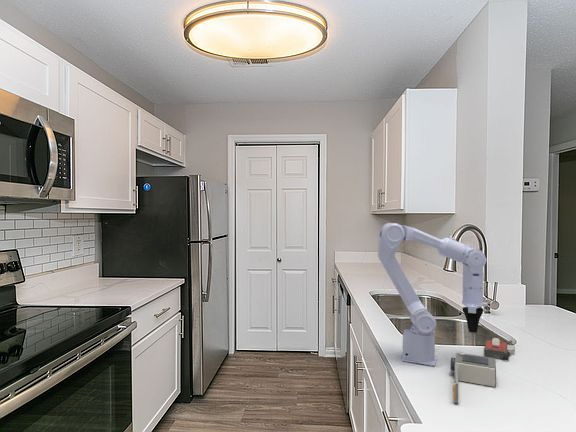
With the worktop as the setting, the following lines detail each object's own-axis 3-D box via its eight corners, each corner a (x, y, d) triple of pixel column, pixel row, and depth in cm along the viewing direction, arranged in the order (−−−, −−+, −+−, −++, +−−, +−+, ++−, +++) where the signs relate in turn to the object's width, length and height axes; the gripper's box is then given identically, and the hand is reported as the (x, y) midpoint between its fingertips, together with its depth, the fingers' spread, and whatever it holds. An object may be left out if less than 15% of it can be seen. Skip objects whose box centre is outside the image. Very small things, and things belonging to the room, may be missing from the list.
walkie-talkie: (515, 364, 119) (514, 345, 136) (515, 350, 119) (514, 333, 136) (483, 359, 123) (486, 341, 141) (483, 345, 123) (486, 329, 141)
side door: (453, 379, 106) (453, 362, 106) (457, 380, 106) (457, 363, 106) (453, 402, 93) (453, 383, 93) (458, 403, 92) (458, 384, 92)
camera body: (449, 379, 107) (449, 359, 107) (452, 369, 114) (452, 350, 114) (496, 387, 102) (496, 366, 102) (495, 376, 109) (495, 356, 109)
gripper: (487, 292, 111) (487, 340, 111) (487, 284, 124) (487, 327, 124) (460, 290, 114) (460, 336, 114) (463, 283, 127) (463, 324, 127)
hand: (472, 331), depth 119 cm, fingers closed
